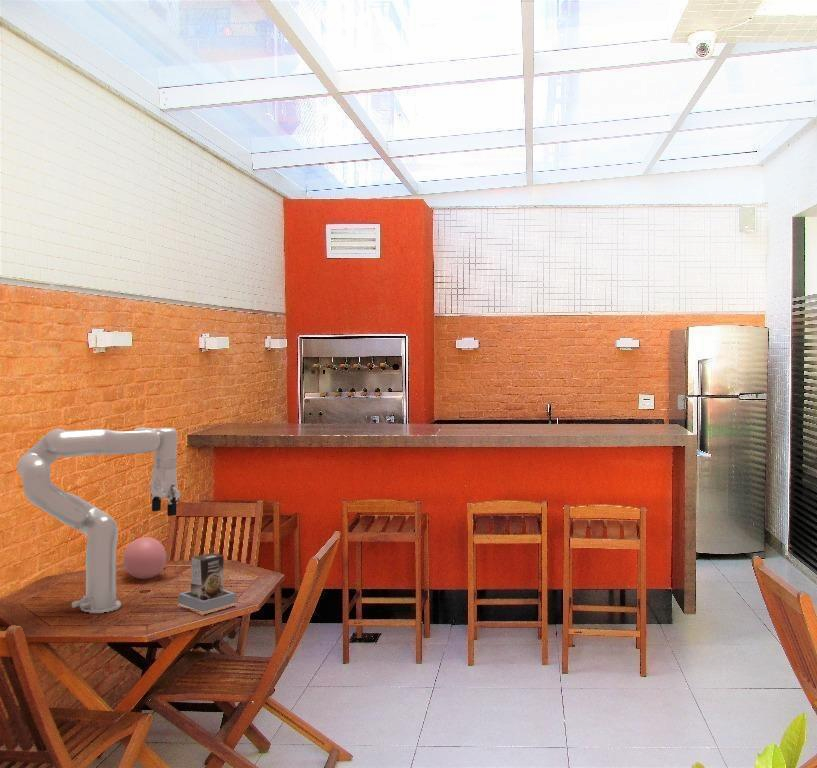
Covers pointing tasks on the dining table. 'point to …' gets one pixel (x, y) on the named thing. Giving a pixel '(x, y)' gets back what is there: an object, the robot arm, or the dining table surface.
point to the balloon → (144, 558)
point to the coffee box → (207, 576)
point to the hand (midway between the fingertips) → (163, 513)
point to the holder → (206, 601)
